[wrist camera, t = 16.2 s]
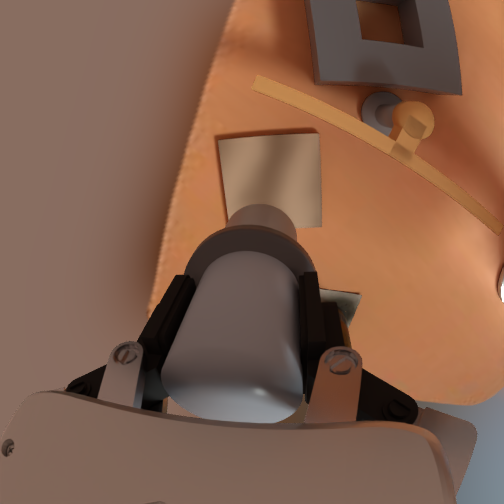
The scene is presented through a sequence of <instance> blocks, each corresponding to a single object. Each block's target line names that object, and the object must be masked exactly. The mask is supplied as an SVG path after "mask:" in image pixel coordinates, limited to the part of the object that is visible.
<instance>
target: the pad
mask: <svg viewBox="0 0 504 504" xmlns="http://www.w3.org/2000/svg"><path fill="white" fill-rule="evenodd" d="M218 145H219V153H220V160H221V168H222V176H223V183H224V191H225V198H226V205H227V213H228V220H229V219H230V218H231V216H232V215H233V214H234V213H235V212H236V211H238V210H239V209H241V208H242V207H245V206H248V205H251V204H267V205H271V206H274V207H276V208H278V209H280V210H282V211H283V212H284V213H285V214H286V215H288V217H289V218H290V219H291V221H292V222H293V224H294V226H295V228H313V227H322V194H321V161H320V140H319V133H301V134H280V135H264V136H252V137H241V138H231V139H222V140H218Z"/></svg>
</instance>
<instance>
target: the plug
mask: <svg viewBox="0 0 504 504" xmlns="http://www.w3.org/2000/svg"><path fill="white" fill-rule="evenodd" d="M311 271H316V270H315V267H314V264H313V262H312V260H311V258H310V256H309V255H308V253H307V252H306V251H305V250H304V248H303V247H302V246H301V245H300V244H299V243H298V242H297V234H296V229H295V226H294V224H293V222H292V221H291V219H290V218H289V217H288V215H286V214H285V213H284V212H283V211H282V210H280V209H278V208H276V207H274V206H271V205H267V204H251V205H248V206H245V207H242V208H241V209H239V210H238V211H236V212H235V213H234V214H233V215H232V216H231V218H230V219H229V221H228V222H227V225H226V227H225V228H224V229H222V230H219V231H217V232H215V233H213V234H212V235H210V236H209V237H207V238H206V239H205V240H204V241H203V242H202V243H201V244H200V245H199V246H198V247H197V249H196V250H195V252H194V253H193V255H192V257H191V258H190V260H189V262H188V264H187V266H186V269H185V273H184V275H189V276H190V278H193V279H194V281H195V285H196V291H195V294H194V296H193V298H192V300H191V303H190V305H189V307H188V309H187V312H186V314H185V316H184V318H183V321H182V323H181V325H180V328H179V330H178V332H177V335H176V337H175V339H174V342H173V344H172V346H171V349H170V351H169V353H168V356H167V358H166V360H165V363H164V365H163V368H162V371H161V381H162V384H163V386H164V389H165V390H166V392H167V393H168V395H169V396H170V397H171V398H172V399H173V400H174V401H175V402H176V403H177V404H179V405H180V406H181V407H183V408H184V409H186V410H187V411H189V412H191V413H193V414H194V415H196V416H199V417H201V418H203V419H211V420H221V421H234V422H250V423H275V422H278V421H280V420H283V419H285V418H287V417H289V416H290V415H291V414H293V413H294V412H295V411H296V410H297V409H298V407H299V406H300V404H301V402H302V397H303V370H302V364H301V344H300V309H299V275H304V272H311Z"/></svg>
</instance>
